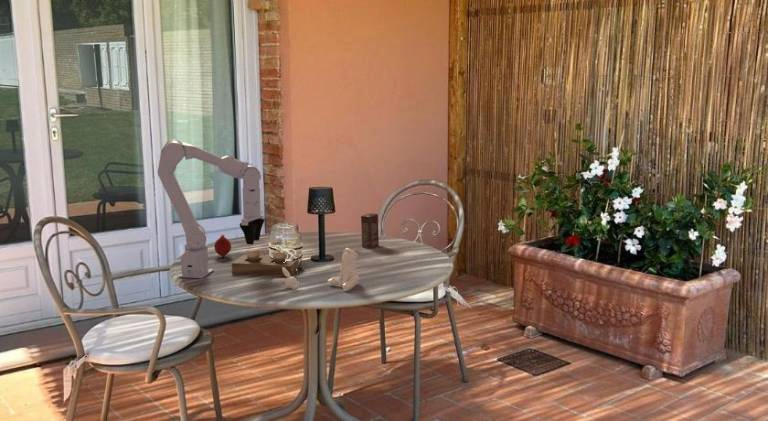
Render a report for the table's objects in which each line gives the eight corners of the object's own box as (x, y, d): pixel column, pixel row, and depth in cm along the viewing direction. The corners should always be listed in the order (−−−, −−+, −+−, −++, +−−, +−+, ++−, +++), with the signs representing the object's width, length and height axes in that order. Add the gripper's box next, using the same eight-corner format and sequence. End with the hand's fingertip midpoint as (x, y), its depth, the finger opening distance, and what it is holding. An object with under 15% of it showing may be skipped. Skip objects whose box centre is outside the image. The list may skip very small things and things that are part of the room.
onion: (229, 259, 273) (228, 236, 272) (213, 258, 273) (212, 236, 272) (233, 254, 279) (232, 233, 278) (217, 254, 279) (216, 232, 278)
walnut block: (290, 276, 252) (290, 266, 251) (232, 273, 256) (231, 262, 255) (300, 267, 262) (300, 257, 262) (244, 264, 266) (243, 254, 265)
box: (368, 243, 295) (368, 212, 293) (379, 245, 293) (379, 213, 291) (360, 247, 290) (360, 215, 288) (371, 248, 288) (371, 216, 286)
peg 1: (257, 261, 257) (256, 252, 256) (245, 261, 258) (245, 251, 257) (261, 258, 261) (261, 249, 260) (249, 258, 261) (249, 249, 261)
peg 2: (283, 263, 255) (283, 253, 255) (271, 262, 256) (271, 253, 255) (287, 260, 259) (286, 250, 258) (275, 259, 260) (275, 250, 259)
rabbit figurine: (290, 291, 236) (270, 277, 238) (290, 298, 239) (270, 284, 241) (303, 278, 239) (282, 264, 241) (303, 284, 242) (283, 270, 244)
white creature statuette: (325, 285, 242) (325, 248, 240) (346, 279, 248) (346, 243, 246) (346, 291, 236) (345, 253, 233) (366, 286, 242) (366, 248, 239)
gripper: (255, 206, 248) (257, 248, 250) (270, 198, 262) (271, 237, 264) (234, 205, 249) (236, 247, 252) (250, 197, 263) (251, 236, 265)
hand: (253, 242), depth 258 cm, fingers open, 5 cm apart
